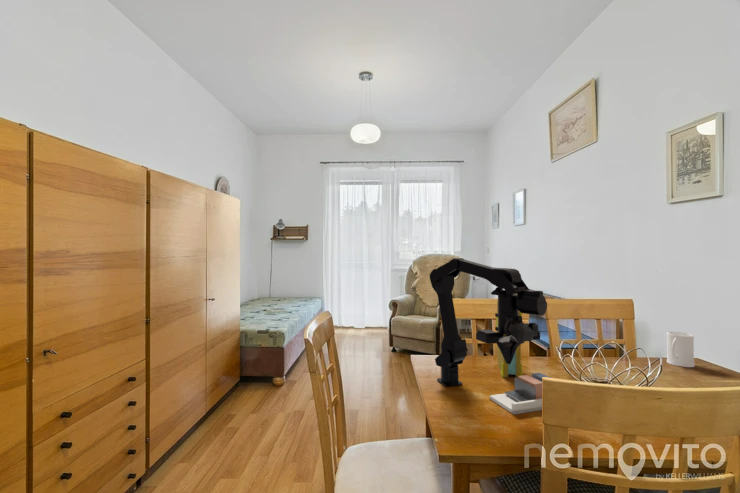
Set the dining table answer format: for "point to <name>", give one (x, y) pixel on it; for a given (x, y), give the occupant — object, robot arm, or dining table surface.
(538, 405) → the shelf
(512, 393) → the bookend
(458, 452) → the dining table surface
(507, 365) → the book
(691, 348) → the mug
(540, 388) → the book block
